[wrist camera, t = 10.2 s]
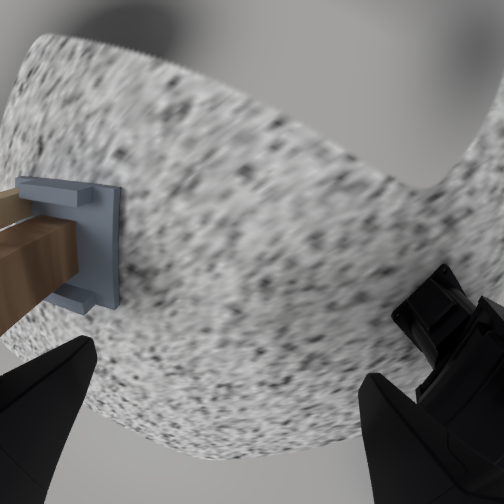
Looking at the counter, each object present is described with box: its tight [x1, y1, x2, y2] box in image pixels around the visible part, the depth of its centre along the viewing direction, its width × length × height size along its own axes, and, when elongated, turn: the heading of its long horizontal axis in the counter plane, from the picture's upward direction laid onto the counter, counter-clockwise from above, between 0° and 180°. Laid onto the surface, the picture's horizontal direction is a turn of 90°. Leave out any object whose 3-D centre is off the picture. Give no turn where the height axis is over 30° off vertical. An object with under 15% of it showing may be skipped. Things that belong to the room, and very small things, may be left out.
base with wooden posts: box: [0, 176, 121, 315], centre depth 17 cm, size 12×10×8 cm
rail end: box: [0, 215, 79, 337], centre depth 14 cm, size 5×5×14 cm
